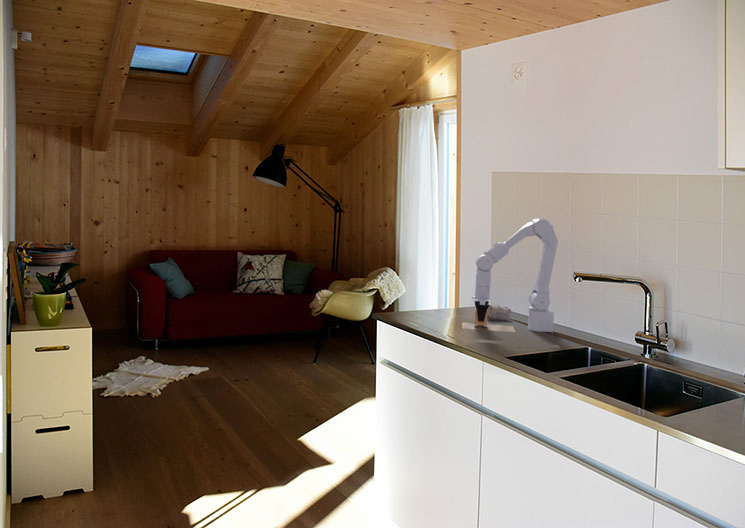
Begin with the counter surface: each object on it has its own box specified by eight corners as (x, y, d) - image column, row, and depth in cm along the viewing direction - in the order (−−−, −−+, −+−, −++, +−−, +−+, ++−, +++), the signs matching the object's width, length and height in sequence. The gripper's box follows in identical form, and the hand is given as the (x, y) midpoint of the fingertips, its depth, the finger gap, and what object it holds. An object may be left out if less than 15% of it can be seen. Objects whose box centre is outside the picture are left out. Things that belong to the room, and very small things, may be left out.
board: (513, 328, 255) (513, 317, 254) (515, 335, 243) (516, 323, 243) (462, 325, 258) (462, 314, 257) (462, 331, 246) (462, 319, 245)
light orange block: (486, 323, 254) (487, 308, 253) (486, 325, 249) (487, 310, 248) (474, 322, 254) (475, 307, 254) (474, 324, 249) (475, 309, 249)
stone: (512, 322, 268) (513, 306, 267) (485, 322, 265) (486, 306, 264) (503, 319, 276) (504, 303, 275) (477, 319, 273) (478, 303, 272)
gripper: (472, 282, 258) (470, 316, 259) (472, 287, 243) (470, 323, 245) (490, 284, 257) (487, 317, 258) (491, 289, 242) (489, 324, 244)
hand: (480, 320), depth 251 cm, fingers closed on light orange block, 5 cm apart
